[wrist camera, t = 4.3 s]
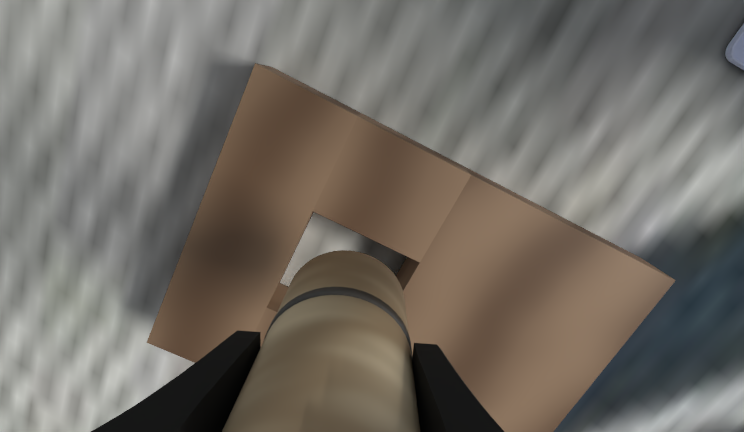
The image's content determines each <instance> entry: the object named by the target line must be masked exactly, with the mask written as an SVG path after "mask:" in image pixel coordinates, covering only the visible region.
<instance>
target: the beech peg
mask: <svg viewBox="0 0 744 432" xmlns="http://www.w3.org/2000/svg"><path fill="white" fill-rule="evenodd" d="M222 432H420V424H419V415H418V407H417V399H416V390H415V382H414V374H413V365H412V348H411V341H410V337H409V332H408V324H407V316H406V307H405V299H404V294H403V290H402V287H401V285H400V283H399V281H398V279H397V277H396V276H395V275H394V273H393V272H392V271H391V270H390V269H389V268H388V267H387V266H386V265H385V264H383V263H382V262H381V261H379V260H377V259H376V258H374V257H372V256H369V255H367V254H364V253H360V252H355V251H333V252H329V253H325V254H322V255H319V256H317V257H315V258H313V259H312V260H310V261H309V262H307V263H306V264H305V265H304V266H303V267H302V268H300V270H299V271H298V272H297V273H296V275H295V276H294V278H293V280H292V282H291V284H290V286H289V288H288V290H287V292H286V295H285V297H284V299H283V301H282V303H281V305H280V307H279V310H278V312H277V314H276V316H275V317H274V319H273V320H272V322H271V324H270V326H269V328H268V331H267V333H266V335H265V338H264V341H263V344H262V346H261V348H260V351H259V353H258V355H257V357H256V359H255V361H254V364H253V366H252V368H251V370H250V372H249V374H248V376H247V379H246V381H245V383H244V385H243V387H242V389H241V392H240V394H239V396H238V398H237V400H236V402H235V404H234V407H233V409H232V411H231V413H230V415H229V417H228V420H227V422H226V424H225V426H224V428H223V430H222Z"/></svg>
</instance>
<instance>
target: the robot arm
mask: <svg viewBox="0 0 744 432" xmlns="http://www.w3.org/2000/svg"><path fill="white" fill-rule="evenodd" d="M725 55H726V59H727V60H728V61H729V62H731V63H732V64H734V65H736V66H737V67H739V68H741V69H742V70H744V23H743V25H742V26H741V28H740V29H739V30H738V32H737V33H736V35H735V36H734V37H733V39H732V40H731V42H730V43H729V44H728V46H727V48H726V53H725ZM260 348H261V339H260V332H252V331H238V330H237V331H236V332H235V333H233V334H232V335H231V336H229V337H228V338H227V339H226V340H224V341H223V342H222V343H220V344H219V345H218V346H217V347H215V348H214V349H213V350H212V351H210V352H209V353H208V354H206V355H205V356H204V357H203V358H201V359H200V360H199V361H197V362H196V363H195V364H193V365H192V366H191V367H190V368H188V369H187V370H186V371H184V372H183V373H182V374H180V375H179V376H177V377H176V378H175V379H173V380H172V381H170V382H169V383H167V384H166V385H164V386H163V387H162V388H160V389H159V390H157V391H156V392H154V393H153V394H151V395H150V396H149V397H147V398H146V399H144V400H143V401H141V402H140V403H138V404H137V405H135V406H134V407H132V408H130V409H129V410H127V411H125V412H124V413H122V414H121V415H119V416H117V417H116V418H114V419H112V420H110V421H109V422H107V423H105V424H104V425H102V426H100V427H98V428H97V429H95V430H93V431H91V432H222V430H223V428H224V426H225V424H226V422H227V420H228V417H229V415H230V413H231V411H232V409H233V407H234V404H235V402H236V400H237V398H238V396H239V394H240V392H241V389H242V387H243V385H244V383H245V381H246V379H247V376H248V374H249V372H250V370H251V368H252V366H253V364H254V361H255V359H256V357H257V355H258V353H259V351H260ZM412 365H413V374H414V382H415V390H416V399H417V407H418V415H419V424H420V432H504V431H503V429H502V428H501V427H500V426H499V425H498V424H497V423H496V421H495V420H494V419H493V418H492V417H491V416H490V414H489V413H488V412H487V411H486V410H485V408H484V407H483V406H482V405H481V404H480V402H479V401H478V400H477V398H476V397H475V396H474V395H473V393H472V392H471V391H470V389H469V388H468V387H467V386H466V384H465V383H464V381H463V380H462V379H461V377H460V376H459V375H458V373H457V372H456V370H455V369H454V368H453V366H452V365H451V363H450V362H449V360H448V359H447V357H446V356H445V354H444V353H443V351H442V350H441V348H440V347H439V346H438V345H437V344H424V343H414V347H413V356H412Z"/></svg>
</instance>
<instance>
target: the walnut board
mask: <svg viewBox="0 0 744 432" xmlns="http://www.w3.org/2000/svg"><path fill="white" fill-rule="evenodd" d="M313 212H315V213H317V214H319V215H322V216H324V217H326V218H328V219H330V220H332V221H334V222H336V223H338V224H340V225H342V226H344V227H347V228H349V229H351V230H353V231H355V232H357V233H359V234H361V235H363V236H365V237H367V238H370V239H372V240H374V241H376V242H378V243H380V244H382V245H384V246H386V247H388V248H390V249H392V250H395V251H397V252H399V253H401V254H403V255H405V256H407V258H406V259H405V261H404V263H403V265H402V266H401V268H400V270H399V272H398V273H397V275H396V277H397V279H398V281H399V283H400V285H401V287H402V290H403V294H404V299H405V307H406V316H407V324H408V332H409V337H410V341H411V348H412V356H413V347H414V343H424V344H437V345H438V346H439V347H440V348H441V350H442V351H443V353H444V354H445V356H446V357H447V359H448V360H449V362H450V363H451V365H452V366H453V368H454V369H455V370H456V372H457V373H458V375H459V376H460V377H461V379H462V380H463V381H464V383H465V384H466V386H467V387H468V388H469V389H470V391H471V392H472V393H473V395H474V396H475V397H476V398H477V400H478V401H479V402H480V404H481V405H482V406H483V407H484V408H485V410H486V411H487V412H488V413H489V414H490V416H491V417H492V418H493V419H494V420H495V421H496V423H497V424H498V425H499V426H500V427H501V428H502V429H503V431H504V432H553V431H554V430H555V429H556V427H557V426H558V425H559V424H560V422H561V421H562V420H563V419H564V418H565V416H566V415H567V414H568V413H569V411H570V410H571V409H572V408H573V406H574V405H575V404H576V403H577V401H578V400H579V399H580V398H581V397H582V395H583V394H584V393H585V392H586V390H587V389H588V388H589V387H590V385H591V384H592V383H593V382H594V380H595V379H596V378H597V377H598V376H599V374H600V373H601V372H602V371H603V369H604V368H605V367H606V366H607V364H608V363H609V362H610V361H611V359H612V358H613V357H614V356H615V355H616V353H617V352H618V351H619V350H620V348H621V347H622V346H623V345H624V343H625V342H626V341H627V340H628V338H629V337H630V336H631V335H632V334H633V332H634V331H635V330H636V329H637V327H638V326H639V325H640V324H641V322H642V321H643V320H644V319H645V317H646V316H647V315H648V314H649V313H650V311H651V310H652V309H653V308H654V306H655V305H656V304H657V303H658V301H659V300H660V299H661V298H662V296H663V295H664V294H665V293H666V292H667V290H668V289H669V288H670V287H671V285H672V284H673V283H674V282H675V280H674V279H673V278H671V277H670V276H668V275H666V274H665V273H663V272H662V271H660V270H659V269H657V268H656V267H654V266H652V265H651V264H649V263H648V262H646V261H645V260H643V259H642V258H640V257H638V256H636V255H634V254H632V253H630V252H628V251H626V250H624V249H622V248H620V247H619V246H617V245H615V244H613V243H611V242H609V241H607V240H605V239H603V238H601V237H599V236H597V235H595V234H593V233H591V232H590V231H588V230H586V229H584V228H582V227H580V226H578V225H576V224H574V223H572V222H570V221H568V220H566V219H564V218H562V217H561V216H559V215H557V214H555V213H553V212H551V211H549V210H547V209H545V208H543V207H541V206H539V205H537V204H535V203H534V202H532V201H530V200H528V199H526V198H524V197H522V196H520V195H518V194H516V193H514V192H512V191H510V190H508V189H506V188H505V187H503V186H501V185H499V184H497V183H495V182H493V181H491V180H489V179H487V178H485V177H483V176H481V175H479V174H477V173H476V172H474V171H472V170H470V169H468V168H466V167H464V166H462V165H460V164H458V163H456V162H454V161H452V160H450V159H449V158H447V157H445V156H443V155H441V154H439V153H437V152H435V151H433V150H431V149H429V148H427V147H425V146H423V145H421V144H420V143H418V142H416V141H414V140H412V139H410V138H408V137H406V136H404V135H402V134H400V133H398V132H396V131H394V130H392V129H391V128H389V127H387V126H385V125H383V124H381V123H379V122H377V121H375V120H373V119H371V118H369V117H367V116H365V115H364V114H362V113H360V112H358V111H356V110H354V109H352V108H350V107H348V106H346V105H344V104H342V103H340V102H338V101H336V100H335V99H333V98H331V97H329V96H327V95H325V94H323V93H321V92H319V91H317V90H315V89H313V88H311V87H309V86H307V85H306V84H304V83H302V82H300V81H298V80H296V79H294V78H292V77H290V76H288V75H286V74H284V73H282V72H280V71H279V70H277V69H275V68H273V67H269V66H265V65H260V64H256V63H255V65H254V68H253V70H252V73H251V75H250V78H249V81H248V83H247V86H246V88H245V91H244V93H243V96H242V99H241V101H240V104H239V106H238V109H237V112H236V114H235V117H234V119H233V122H232V124H231V127H230V130H229V132H228V135H227V137H226V140H225V142H224V145H223V148H222V150H221V153H220V155H219V158H218V160H217V163H216V166H215V168H214V171H213V173H212V176H211V178H210V181H209V184H208V186H207V189H206V191H205V194H204V196H203V199H202V202H201V204H200V207H199V209H198V212H197V214H196V217H195V220H194V222H193V225H192V227H191V230H190V232H189V235H188V238H187V240H186V243H185V245H184V248H183V251H182V253H181V256H180V258H179V261H178V263H177V266H176V269H175V271H174V274H173V276H172V279H171V281H170V284H169V287H168V289H167V292H166V294H165V297H164V299H163V302H162V305H161V307H160V310H159V312H158V315H157V317H156V320H155V323H154V325H153V328H152V330H151V333H150V335H149V338H148V341H147V343H149V344H152V345H154V346H157V347H159V348H161V349H164V350H166V351H168V352H171V353H173V354H176V355H178V356H180V357H183V358H185V359H188V360H190V361H192V362H195V363H196V362H197V361H199V360H200V359H201V358H203V357H204V356H205V355H206V354H208V353H209V352H210V351H212V350H213V349H214V348H215V347H217V346H218V345H219V344H220V343H222V342H223V341H224V340H226V339H227V338H228V337H229V336H231V335H232V334H233V333H235V332H236V331H237V330H238V331H252V332H260V339H261V346H262V344H263V341H264V338H265V335H266V333H267V331H268V328H269V326H270V324H271V322H272V320H273V319H274V317H275V316H276V314H277V312H278V310H279V307H280V305H281V303H282V301H283V299H284V297H285V295H286V292H287V290H288V288H289V287H287V286H285V285H283V284H281V283H280V281H281V279H282V277H283V274H284V272H285V270H286V268H287V266H288V264H289V262H290V260H291V258H292V256H293V254H294V252H295V249H296V247H297V245H298V243H299V241H300V239H301V237H302V235H303V233H304V231H305V229H306V227H307V224H308V222H309V220H310V218H311V216H312V214H313Z"/></svg>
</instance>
